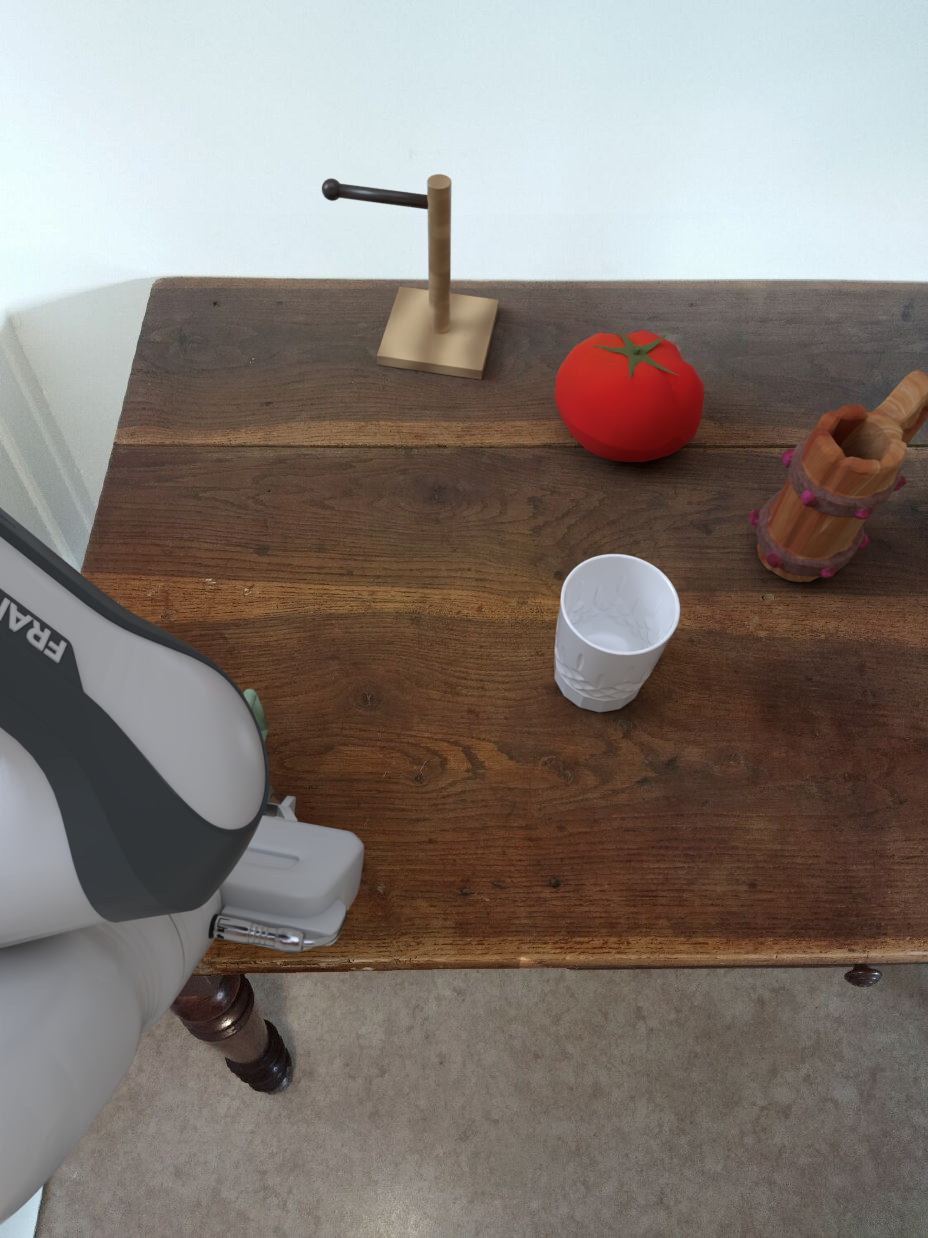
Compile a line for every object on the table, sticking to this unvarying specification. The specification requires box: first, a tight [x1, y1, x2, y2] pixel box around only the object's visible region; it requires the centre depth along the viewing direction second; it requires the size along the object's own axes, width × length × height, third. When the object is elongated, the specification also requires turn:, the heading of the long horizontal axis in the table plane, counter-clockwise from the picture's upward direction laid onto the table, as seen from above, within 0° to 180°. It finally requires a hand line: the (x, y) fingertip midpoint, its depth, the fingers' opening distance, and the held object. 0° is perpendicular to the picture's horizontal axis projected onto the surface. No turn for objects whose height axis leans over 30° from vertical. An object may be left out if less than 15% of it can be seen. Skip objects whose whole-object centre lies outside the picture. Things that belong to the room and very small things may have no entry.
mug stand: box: [321, 173, 500, 380], centre depth 79 cm, size 15×10×16 cm, turn 80°
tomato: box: [554, 327, 705, 463], centre depth 75 cm, size 11×13×10 cm
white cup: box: [553, 553, 681, 713], centre depth 63 cm, size 8×8×10 cm
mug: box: [748, 369, 928, 583], centre depth 67 cm, size 15×8×15 cm, turn 131°
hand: (227, 794), depth 56 cm, fingers closed on enamel mug, 6 cm apart
